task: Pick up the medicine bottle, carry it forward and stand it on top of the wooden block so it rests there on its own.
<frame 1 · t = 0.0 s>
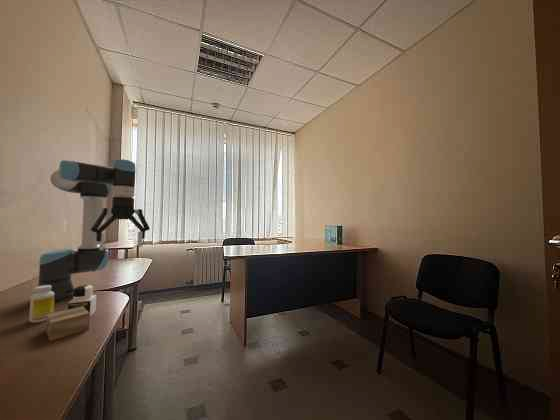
hand: (121, 248, 94), 28 cm above the table, fingers open, 13 cm apart
medicine bottle: (82, 316, 93), on the table
supplement bottle: (41, 320, 89), on the table
wooden block: (67, 330, 81), on the table
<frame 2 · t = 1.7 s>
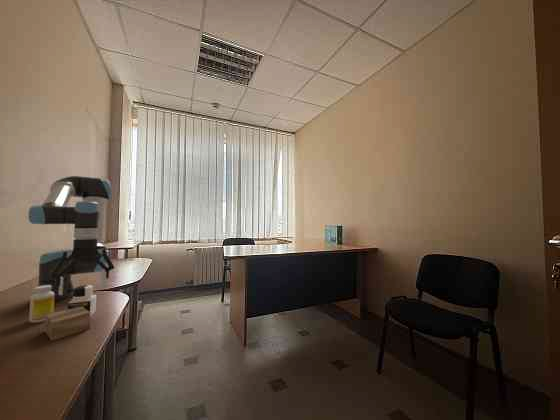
hand: (83, 290, 93), 10 cm above the table, fingers open, 13 cm apart
nothing on the table moved.
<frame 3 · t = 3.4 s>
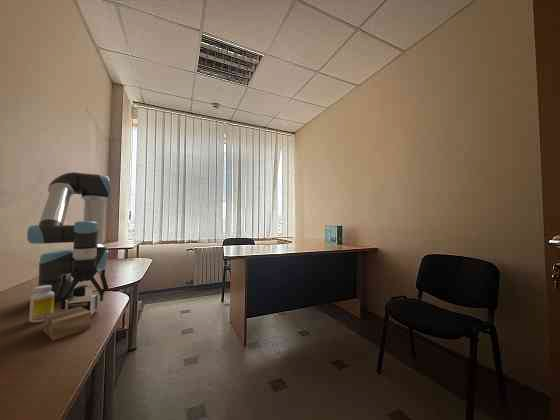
hand: (82, 313, 93), 1 cm above the table, fingers closed on medicine bottle, 9 cm apart
medicine bottle: (82, 316, 93), on the table, touching gripper
everything else where it was.
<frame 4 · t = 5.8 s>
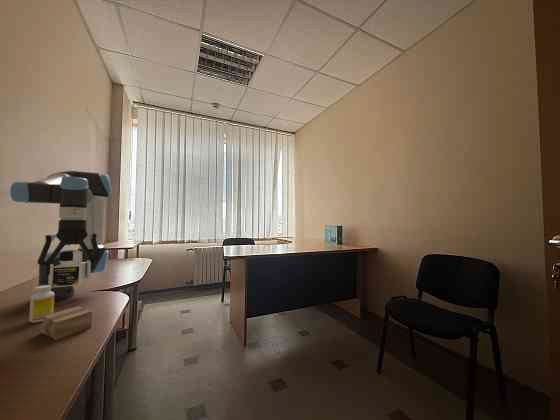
hand: (70, 280, 82), 17 cm above the table, fingers closed on medicine bottle, 9 cm apart
medicine bottle: (69, 284, 82), point 16 cm above the table, touching gripper
everything else where it was.
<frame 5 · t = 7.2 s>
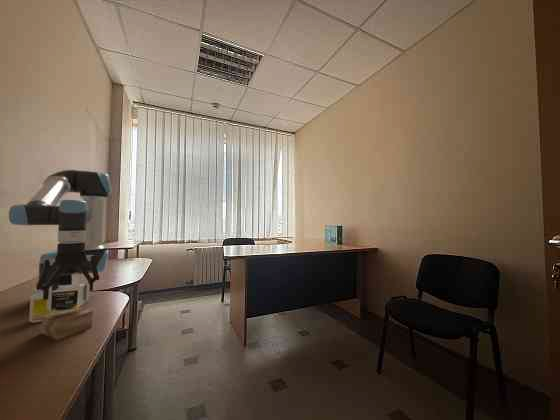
hand: (68, 304, 82), 9 cm above the table, fingers closed on medicine bottle, 9 cm apart
medicine bottle: (68, 307, 82), point 8 cm above the table, touching gripper
everything else where it was.
when the fingers open (8 cm above the table, at t = 8.3 s): medicine bottle drops 1 cm, resting on wooden block.
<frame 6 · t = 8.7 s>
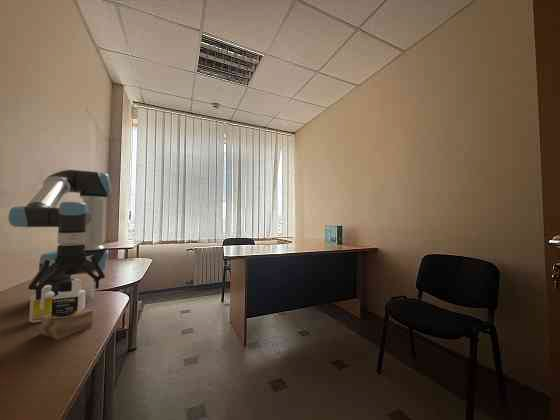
hand: (68, 303, 82), 9 cm above the table, fingers open, 13 cm apart
medicine bottle: (68, 314, 82), point 6 cm above the table, touching wooden block
wooden block: (67, 330, 81), on the table, touching medicine bottle
everything else where it was.
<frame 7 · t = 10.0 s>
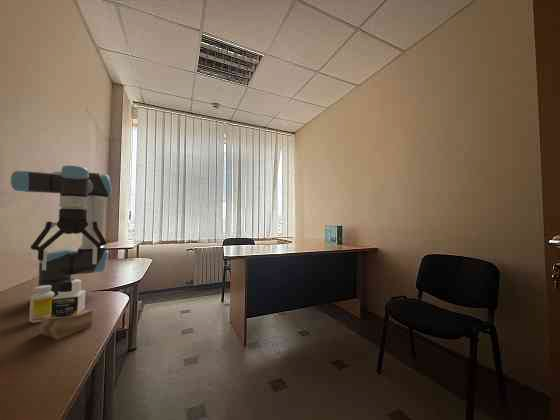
hand: (70, 266, 82), 23 cm above the table, fingers open, 13 cm apart
nothing on the table moved.
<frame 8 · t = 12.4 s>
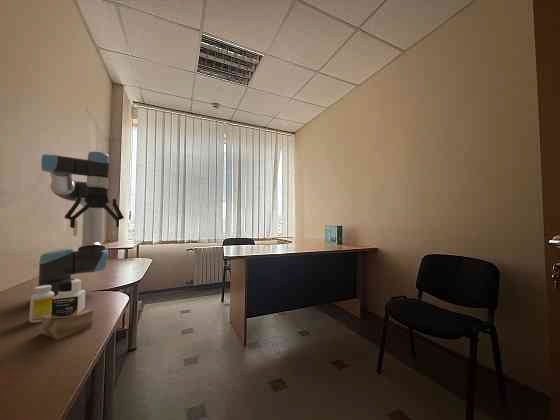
hand: (95, 235, 100), 33 cm above the table, fingers open, 13 cm apart
nothing on the table moved.
at the end: medicine bottle inside the target area on the wooden block (0.3 cm from its centre), point 5.8 cm above the wooden block's base; medicine bottle tilted 0°; the gripper is holding nothing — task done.
